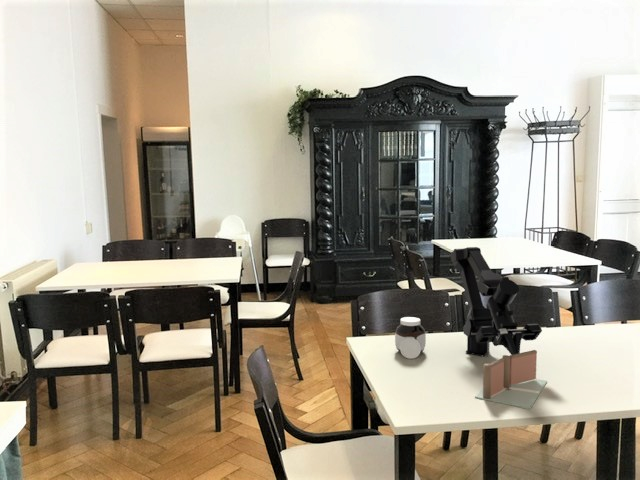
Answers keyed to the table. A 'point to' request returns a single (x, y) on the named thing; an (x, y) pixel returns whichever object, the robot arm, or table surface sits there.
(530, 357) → the swing panel
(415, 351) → the spread jar
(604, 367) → the table surface
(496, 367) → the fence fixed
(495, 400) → the mat
